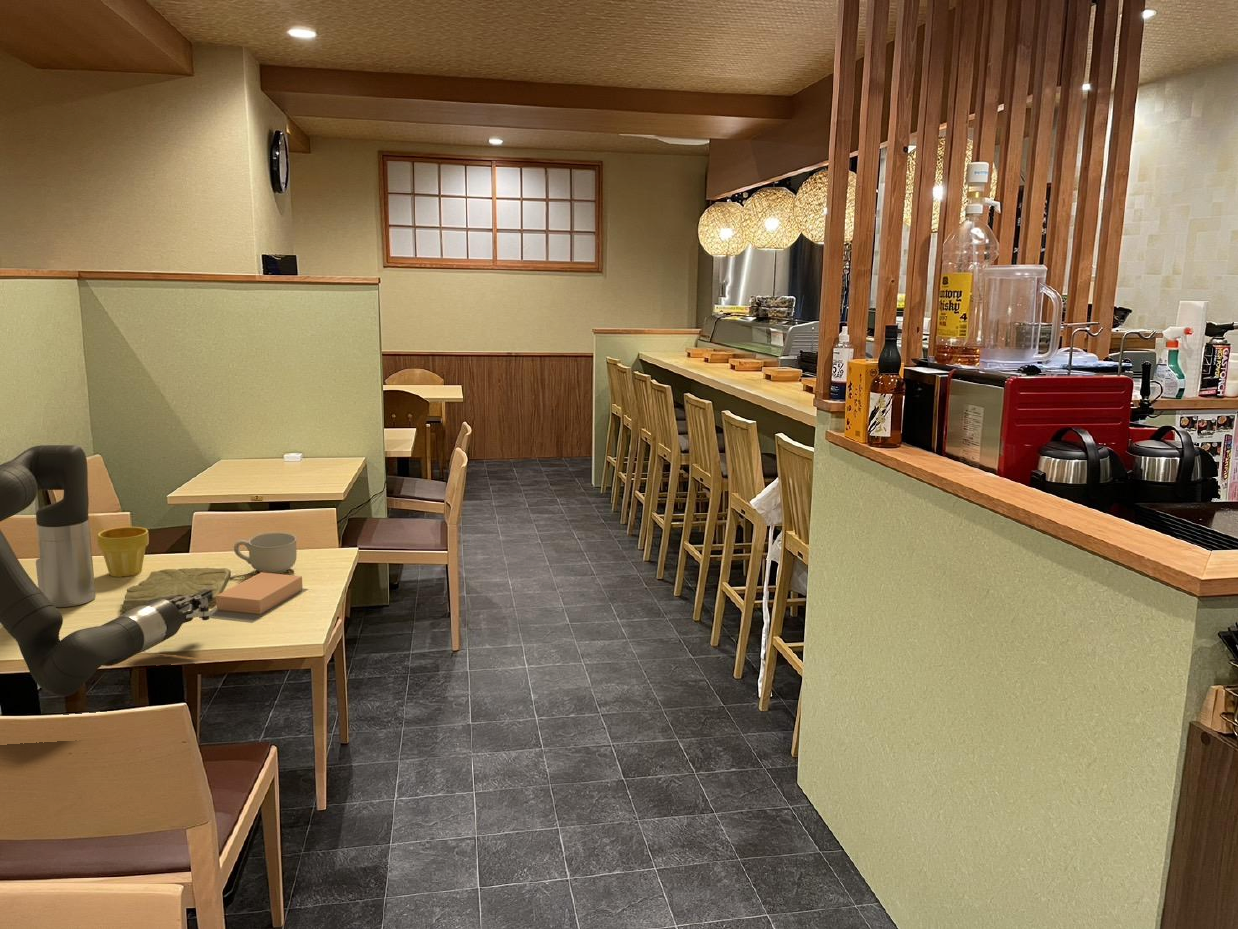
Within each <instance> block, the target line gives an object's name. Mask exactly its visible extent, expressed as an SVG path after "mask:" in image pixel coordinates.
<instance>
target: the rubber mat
mask: <svg viewBox="0 0 1238 929" xmlns="http://www.w3.org/2000/svg"><path fill="white" fill-rule="evenodd" d="M308 590H309V589H308V588H303V589H302V590H301V591H299V592H297V593H295V594H294V595H292V596H290V597H289V598H287V599H285V600H284V601H282V602H280V603H279V604H277V605H275V606H273V607H272V608H270V609H268V610H267V611H265V612H263V613H262V614H254V613H245V612H235V611H226V610H217V606H215V607H214V608H213V609H211V610H209V619H215V620H216V619H218V620H225V621H233V622H241V623H243V622H244V623H251V624H252V623H253V624H254V623H255V622H257V621H258V620H260V619H261V618H263V617H265V616H266V615H268V614H270V613H272V612H274V611H275V610H276V609H278V608H280V607H281V606H283V605H284V604H286V603H288V602H289V601H291V600H293V599H294V598H296V597H298V596H300V595H301V594H303V593H305V592H306V591H308Z"/></svg>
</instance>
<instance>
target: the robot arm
mask: <svg viewBox="0 0 1238 929" xmlns="http://www.w3.org/2000/svg"><path fill="white" fill-rule="evenodd" d="M88 475H89V472H88V460H87V456H86V452H85V451H84V449H83V448H82V447H81V446H79V445H76V444H75V445H74V444H73V445H72V444H57V445H56V444H48V445H47V444H46V445H45V444H43V445H41V444H40V445H35V446H31V447H29V448H27V449H26V450H24V451H23V452H21V453H20V454H18V455H16V457H14V458H13V459H11V460H9V461H6V462H4V463H1V464H0V523H1V522H2V521H5V520H7V519H9V518H11V517H14V516H15V515H17V514H19V513H21V512H23V511H25V510H27V508H29V507H30V506H31V505H32V503H33V502H34V501H35V499H36V498H37V494H38V491H63V496H62V499H60V500H59V501H57V502H54V503H50V504H47V505H44V506H42V507H40V508H39V509H38V510H36V513H35V518H36V520H35V521H36V528H37V538H38V548H39V549H38V550H39V558H37V559H36V560H35V566H36V567H35V568H36V577H37V584H36V583H35V582H34V581H33V580H32V578H31V577H30V576H29V574H28V573H27V571H26V570H25V569H24V566H23V565H22V564H21V562H20V560H19V559H18V557H17V555H16V554H15V552H14V550H13V549H12V546H11V544H10V543H9V541H8V540H7V538H6V536H5V535H4V533H3V531H2V530H1V529H0V625H1V626H2V627H3V628H4V629H5V630H6V631H7V633H8V634H9V635H10V636H11V637H12V638H13V639H14V640H15V642H16V643H17V646H18V647H19V650H20V653H21V656H22V658H23V660H24V662H25V664H26V666H27V669H28V671H29V673H30V675H31V678H32V679H33V681H34V682H35V683H36V684H37V686H39V687H40V688H41V689H42V690H43V691H45V692H47V693H48V694H51V695H53V696H56V697H68V696H71V695H73V694H75V693H77V692H78V691H79V690H80V689H81V688H82V687H83V686H84V685H85V684H86V683H87V681H89V680H90V678H91V677H92V676H93V675H95V673H96V672H97V670H98V669H99V668H101V667H102V666H105V667H109V666H115V665H118V664H121V663H123V662H124V661H126V660H128V659H130V658H132V657H134V656H136V655H138V654H140V653H143V652H145V651H146V652H147V651H148V650H150V649H152V648H153V647H156V646H157V645H159V644H161V643H163V642H165V641H166V640H168V639H170V638H172V637H174V636H175V635H176V634H177V633H178V632H179V631H180V629H181V627H182V626H183V624H186V623H189V622H190V623H191V622H192V620H193V619H194V618H199V619H201V620H202V621H208V620H210V618H209V611H210V608H209V607H210V606H208V602H210V601H212V600H213V593H212V590H206V589H204V590H202V591H200V592H198V593H196V594H193V595H192V594H189V595H186V596H184V597H183V595H180V594H179V595H174V596H169V597H163V598H156V599H151V600H148V602H146V603H144V604H142V605H140V606H138V607H136V608H134V609H131V610H129V611H127V612H125V613H122V614H121V615H119V616H118V617H116V618H114V619H111V620H110V621H107V622H105V623H103V624H101V625H98V626H97V625H96V626H92V627H86V628H81V629H78V630H75V631H73V632H71V633H69V634H68V635H66V636H65V637H63V638H62V639H60V631H61V629H62V626H63V622H64V618H63V616H62V614H61V613H60V611H59V610H58V609H57V608H65V607H66V608H68V607H75V606H80V605H83V604H86V603H89V602H91V601H93V600H94V599H96V585H95V573H94V563H93V562H94V561H93V551H92V550H93V549H92V539H91V529H90V519H89V517H90V516H89V506H90V505H89V504H90V502H89V499H90V498H89V487H88V486H89V485H88V484H89V482H88V481H89V480H88V479H89V478H88V477H89V476H88Z"/></svg>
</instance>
